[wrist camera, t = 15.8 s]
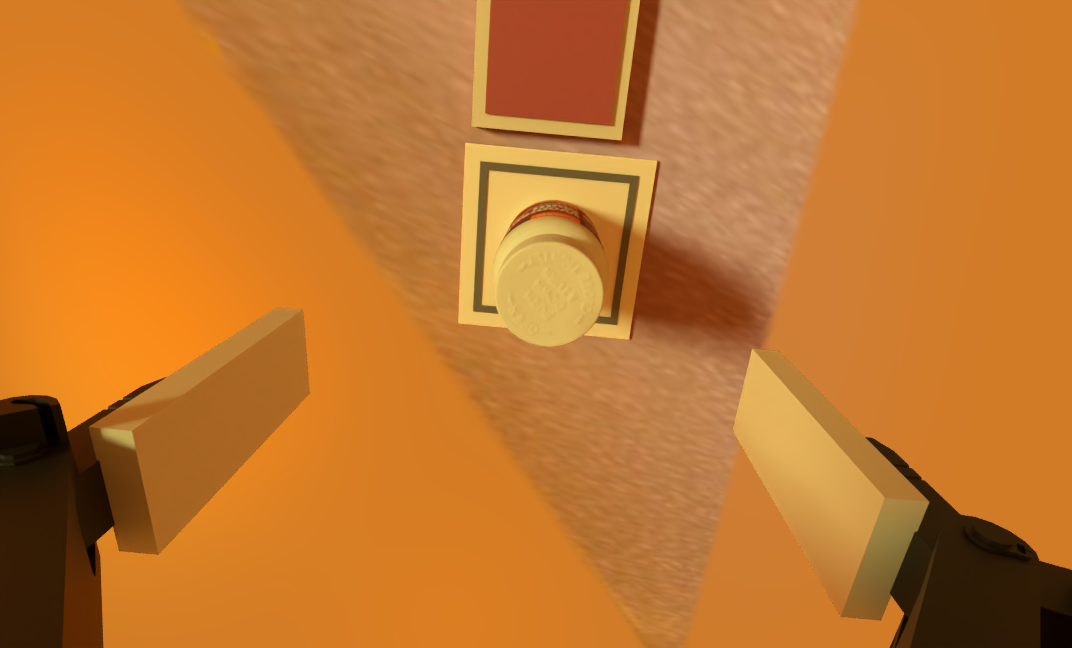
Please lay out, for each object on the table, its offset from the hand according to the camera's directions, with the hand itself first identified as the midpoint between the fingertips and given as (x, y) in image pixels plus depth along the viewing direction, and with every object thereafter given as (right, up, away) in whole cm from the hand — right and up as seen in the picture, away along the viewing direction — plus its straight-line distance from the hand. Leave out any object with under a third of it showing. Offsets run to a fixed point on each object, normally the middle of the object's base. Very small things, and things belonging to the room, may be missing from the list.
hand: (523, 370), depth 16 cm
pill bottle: (+1, +7, +20) cm, 21 cm away
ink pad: (+1, +18, +16) cm, 24 cm away
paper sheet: (+1, +7, +20) cm, 21 cm away
